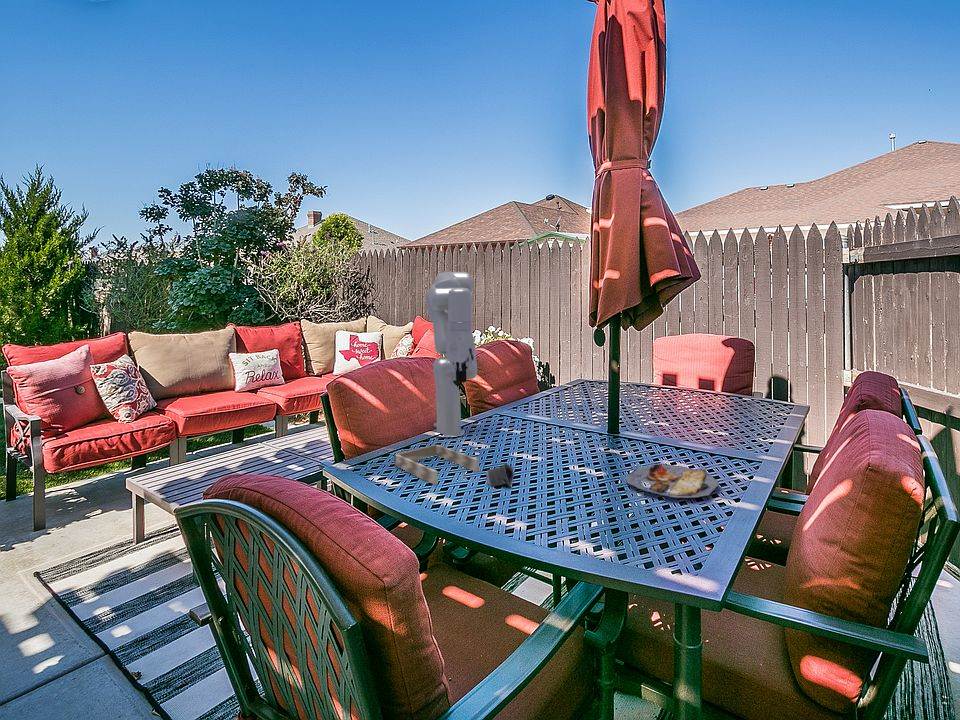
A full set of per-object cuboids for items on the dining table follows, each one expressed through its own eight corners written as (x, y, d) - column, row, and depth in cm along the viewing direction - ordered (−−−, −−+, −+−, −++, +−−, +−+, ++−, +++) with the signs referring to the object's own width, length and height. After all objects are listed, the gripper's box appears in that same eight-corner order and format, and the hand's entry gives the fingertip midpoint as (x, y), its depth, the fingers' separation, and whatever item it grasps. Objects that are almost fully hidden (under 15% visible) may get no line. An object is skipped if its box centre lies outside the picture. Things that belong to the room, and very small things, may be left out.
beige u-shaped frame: (394, 466, 167) (394, 454, 167) (437, 455, 178) (436, 444, 178) (435, 484, 150) (434, 471, 149) (479, 471, 161) (478, 459, 160)
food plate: (648, 465, 163) (648, 454, 162) (726, 481, 148) (727, 470, 147) (614, 491, 143) (614, 479, 143) (701, 513, 129) (701, 499, 128)
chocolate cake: (492, 475, 159) (479, 457, 150) (513, 469, 158) (502, 451, 149) (496, 503, 153) (483, 486, 144) (518, 497, 152) (506, 480, 143)
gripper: (437, 326, 169) (439, 380, 172) (465, 329, 158) (466, 387, 161) (455, 324, 174) (456, 377, 177) (483, 327, 162) (484, 383, 165)
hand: (461, 381), depth 169 cm, fingers closed
